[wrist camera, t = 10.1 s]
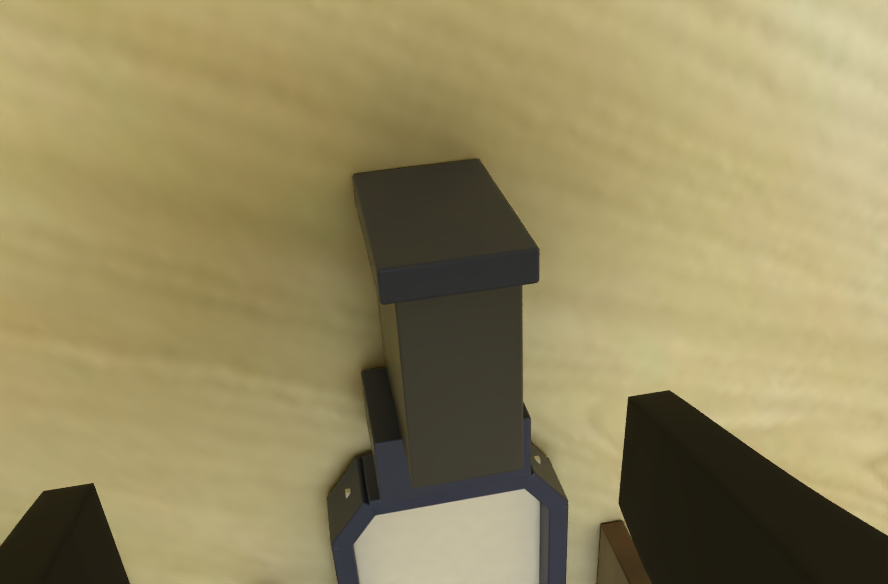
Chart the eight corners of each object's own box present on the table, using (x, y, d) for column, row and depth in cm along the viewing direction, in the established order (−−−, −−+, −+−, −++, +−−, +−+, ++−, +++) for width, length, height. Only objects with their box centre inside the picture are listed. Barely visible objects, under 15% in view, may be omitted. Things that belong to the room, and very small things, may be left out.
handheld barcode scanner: (272, 182, 19) (273, 283, 15) (553, 148, 20) (633, 234, 16) (350, 637, 28) (366, 791, 23) (546, 598, 28) (598, 738, 24)
